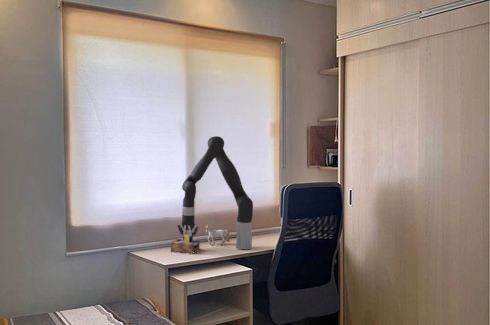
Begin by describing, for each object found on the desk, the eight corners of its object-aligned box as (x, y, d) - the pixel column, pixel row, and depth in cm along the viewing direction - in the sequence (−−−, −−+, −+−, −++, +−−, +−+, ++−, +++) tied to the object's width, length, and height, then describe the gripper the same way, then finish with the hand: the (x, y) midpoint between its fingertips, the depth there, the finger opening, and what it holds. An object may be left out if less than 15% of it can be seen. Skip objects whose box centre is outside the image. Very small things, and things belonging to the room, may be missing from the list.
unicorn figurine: (198, 245, 320) (199, 224, 319) (225, 242, 330) (226, 222, 329) (203, 247, 314) (203, 227, 313) (230, 244, 324) (231, 224, 323)
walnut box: (199, 249, 310) (199, 239, 310) (192, 254, 299) (192, 244, 298) (178, 247, 314) (178, 237, 313) (170, 251, 302) (170, 242, 302)
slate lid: (199, 243, 308) (199, 234, 307) (194, 246, 300) (194, 236, 299) (181, 241, 311) (181, 232, 310) (176, 244, 303) (176, 235, 302)
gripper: (201, 213, 306) (200, 241, 307) (180, 211, 309) (179, 239, 311) (197, 215, 298) (196, 244, 300) (175, 214, 302) (174, 241, 304)
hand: (187, 241), depth 305 cm, fingers closed on slate lid, 3 cm apart
